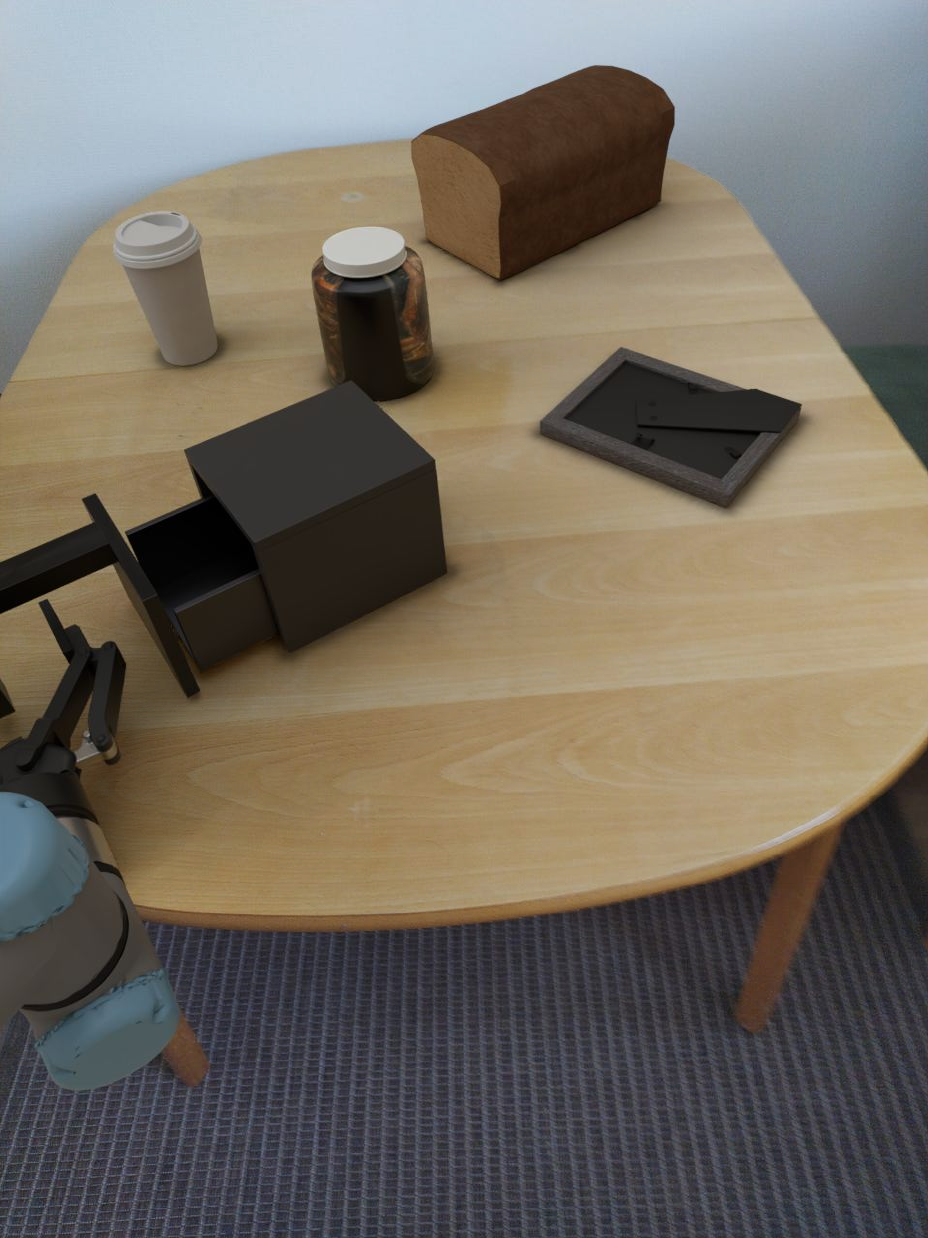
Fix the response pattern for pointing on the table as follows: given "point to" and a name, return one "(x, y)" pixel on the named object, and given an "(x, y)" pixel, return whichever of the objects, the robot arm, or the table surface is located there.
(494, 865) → the table surface
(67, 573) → the fryer drawer
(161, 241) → the coffee cup
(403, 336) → the jar
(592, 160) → the bread
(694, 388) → the picture frame
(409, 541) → the box
